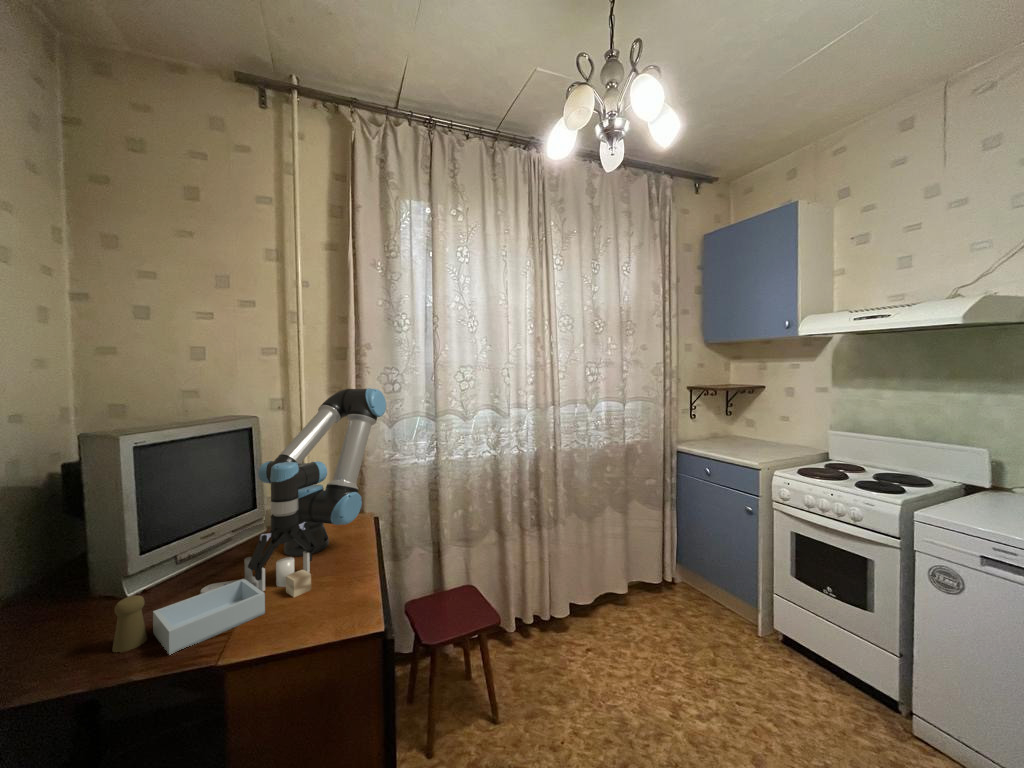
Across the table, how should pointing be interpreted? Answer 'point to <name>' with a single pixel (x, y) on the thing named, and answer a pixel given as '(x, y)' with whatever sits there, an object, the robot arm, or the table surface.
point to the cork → (129, 624)
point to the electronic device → (248, 577)
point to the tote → (207, 615)
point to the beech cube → (298, 583)
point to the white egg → (284, 570)
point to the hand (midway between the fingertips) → (285, 580)
